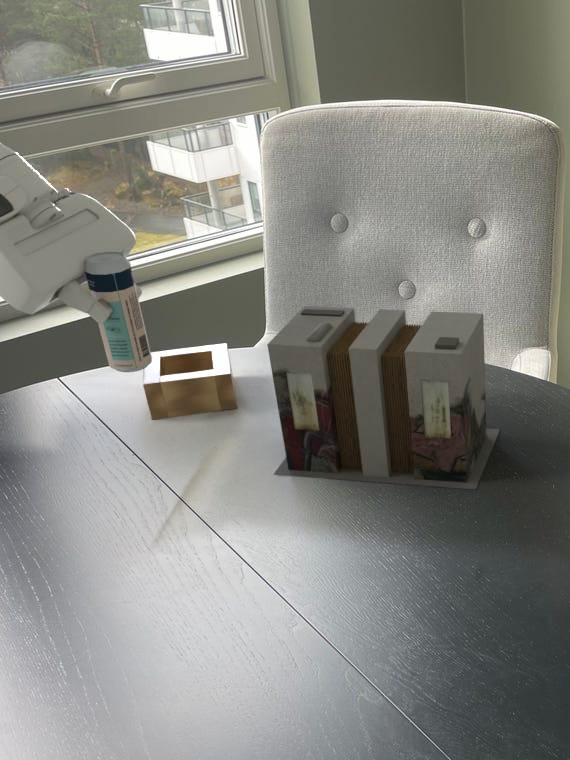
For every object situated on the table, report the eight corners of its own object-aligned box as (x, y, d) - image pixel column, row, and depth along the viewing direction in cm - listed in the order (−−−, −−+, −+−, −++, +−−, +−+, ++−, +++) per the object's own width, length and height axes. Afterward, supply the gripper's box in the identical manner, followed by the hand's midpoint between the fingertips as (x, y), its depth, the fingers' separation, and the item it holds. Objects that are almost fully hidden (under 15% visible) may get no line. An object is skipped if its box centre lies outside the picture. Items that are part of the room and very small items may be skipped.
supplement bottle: (147, 354, 112) (122, 247, 105) (158, 368, 109) (133, 259, 102) (105, 363, 111) (76, 255, 103) (115, 377, 107) (87, 267, 100)
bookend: (475, 489, 113) (470, 354, 103) (272, 474, 117) (249, 343, 107) (500, 429, 125) (497, 303, 115) (315, 417, 129) (298, 295, 119)
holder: (151, 419, 130) (142, 384, 127) (152, 386, 139) (144, 352, 136) (237, 408, 132) (230, 373, 129) (233, 376, 141) (226, 343, 138)
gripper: (58, 205, 111) (154, 296, 115) (-58, 259, 96) (58, 361, 100) (82, 164, 108) (181, 259, 112) (-34, 213, 92) (85, 322, 96)
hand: (122, 308), depth 106 cm, fingers closed on supplement bottle, 5 cm apart
